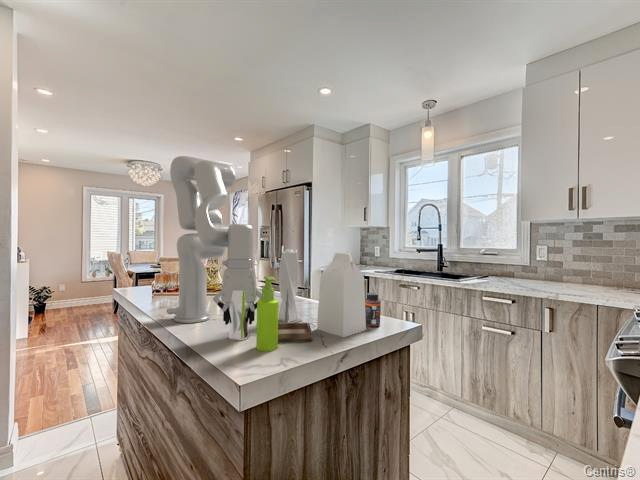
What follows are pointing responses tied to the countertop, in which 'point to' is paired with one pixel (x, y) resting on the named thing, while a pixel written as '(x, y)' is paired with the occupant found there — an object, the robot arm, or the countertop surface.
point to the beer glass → (238, 316)
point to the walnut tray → (294, 332)
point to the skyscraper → (288, 286)
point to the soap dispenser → (267, 318)
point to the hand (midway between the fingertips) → (239, 322)
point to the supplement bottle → (372, 310)
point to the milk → (341, 297)
